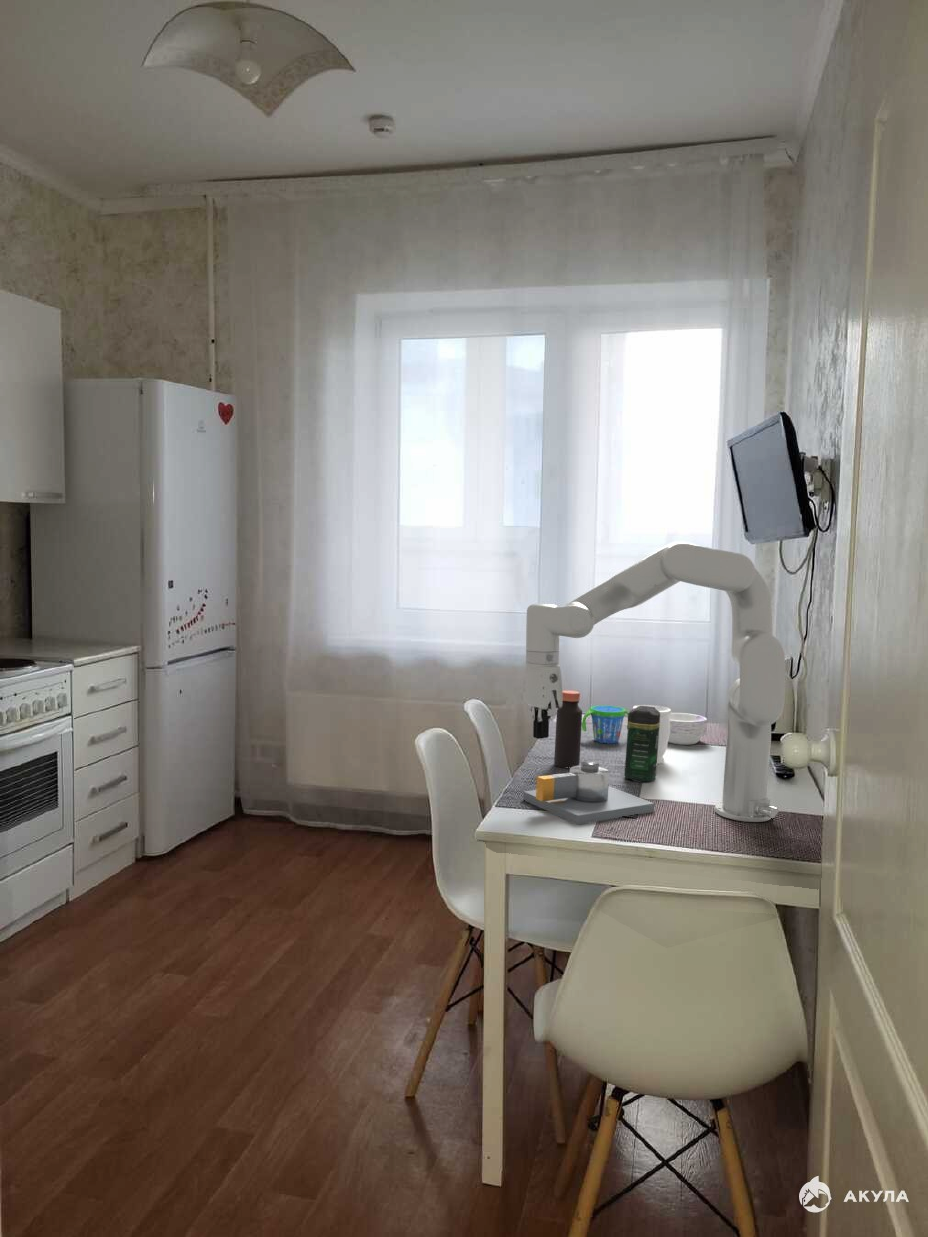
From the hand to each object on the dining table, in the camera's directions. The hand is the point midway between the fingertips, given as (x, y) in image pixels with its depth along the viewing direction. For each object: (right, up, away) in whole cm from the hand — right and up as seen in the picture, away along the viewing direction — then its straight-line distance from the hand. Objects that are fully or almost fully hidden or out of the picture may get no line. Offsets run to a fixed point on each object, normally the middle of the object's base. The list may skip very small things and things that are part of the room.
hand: (540, 737), depth 215 cm
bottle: (+10, -12, +37) cm, 40 cm away
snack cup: (+25, -10, +69) cm, 74 cm away
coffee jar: (+28, -14, +27) cm, 41 cm away
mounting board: (+11, -16, 0) cm, 19 cm away
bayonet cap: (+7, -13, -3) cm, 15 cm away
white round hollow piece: (+49, -11, +73) cm, 88 cm away
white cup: (+34, -13, +46) cm, 58 cm away
